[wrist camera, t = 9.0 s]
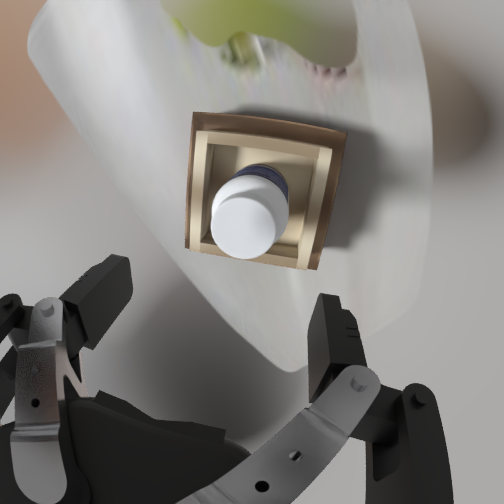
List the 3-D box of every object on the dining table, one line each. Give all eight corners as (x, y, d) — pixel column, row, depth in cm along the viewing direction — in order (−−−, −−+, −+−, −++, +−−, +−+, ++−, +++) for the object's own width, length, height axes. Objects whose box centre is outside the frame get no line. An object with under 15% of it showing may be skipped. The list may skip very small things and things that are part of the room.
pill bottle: (227, 165, 24) (192, 188, 15) (286, 160, 23) (286, 181, 14) (234, 220, 26) (206, 270, 18) (290, 217, 25) (290, 268, 17)
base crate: (207, 113, 27) (193, 111, 23) (337, 132, 26) (347, 133, 22) (198, 230, 34) (184, 247, 29) (313, 249, 33) (316, 270, 28)
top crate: (208, 129, 23) (196, 130, 20) (326, 146, 23) (332, 149, 20) (200, 236, 28) (189, 250, 25) (304, 253, 28) (306, 270, 25)
